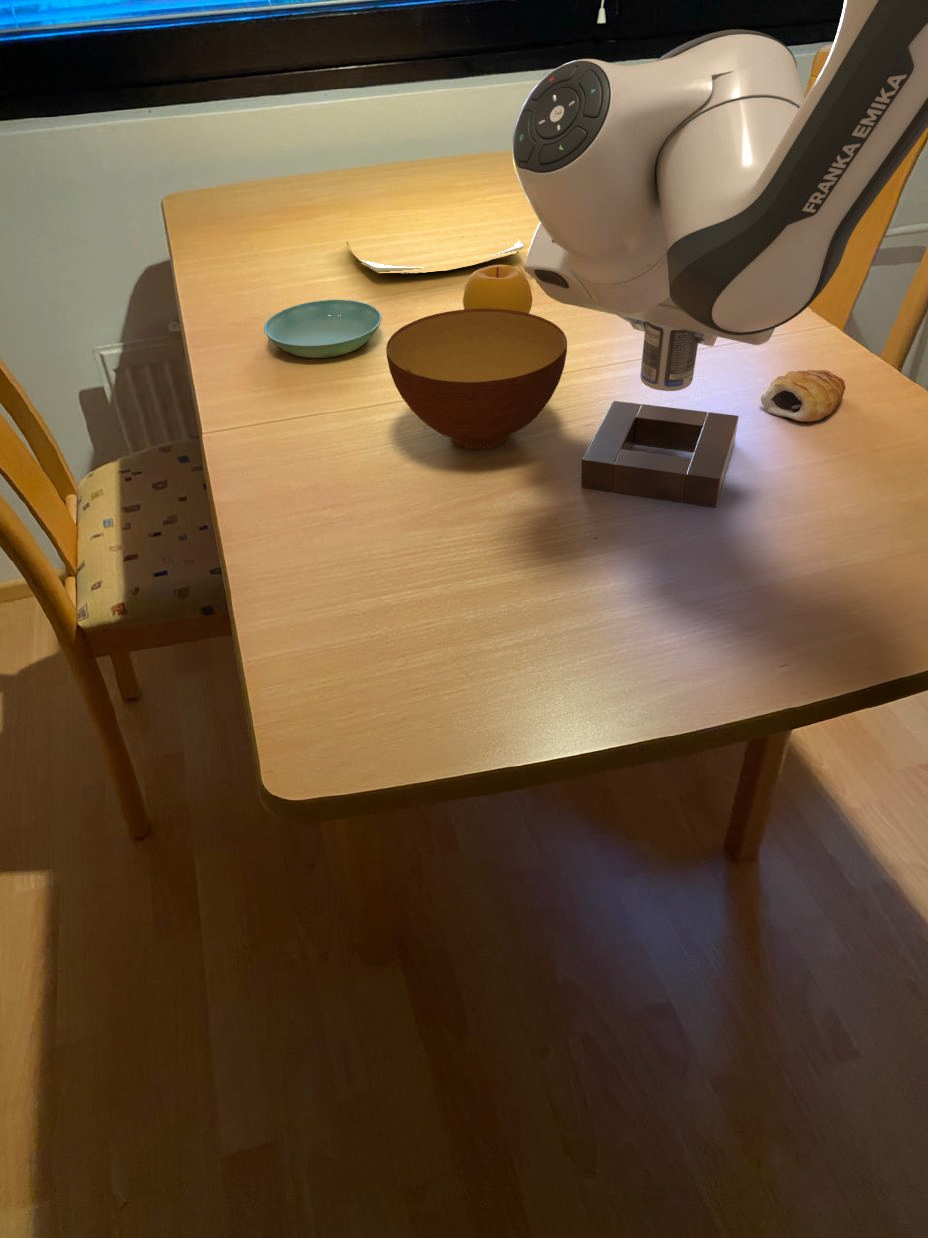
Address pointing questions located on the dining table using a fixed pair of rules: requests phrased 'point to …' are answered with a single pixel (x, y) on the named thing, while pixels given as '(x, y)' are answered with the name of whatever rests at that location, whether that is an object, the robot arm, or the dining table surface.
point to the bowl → (477, 371)
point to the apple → (498, 289)
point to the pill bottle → (668, 357)
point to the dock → (656, 473)
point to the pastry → (804, 395)
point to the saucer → (323, 327)
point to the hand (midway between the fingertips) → (676, 330)
